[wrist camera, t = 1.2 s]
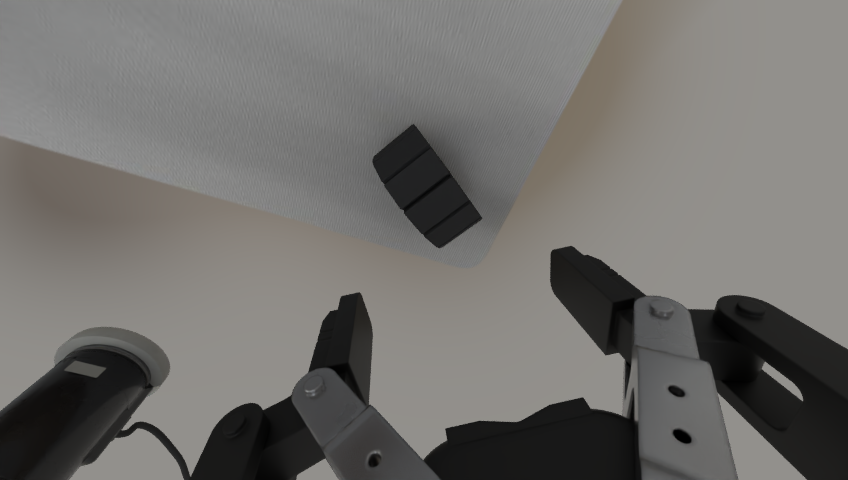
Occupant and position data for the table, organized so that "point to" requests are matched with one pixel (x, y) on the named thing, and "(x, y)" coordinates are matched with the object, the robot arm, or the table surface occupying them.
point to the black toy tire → (424, 188)
